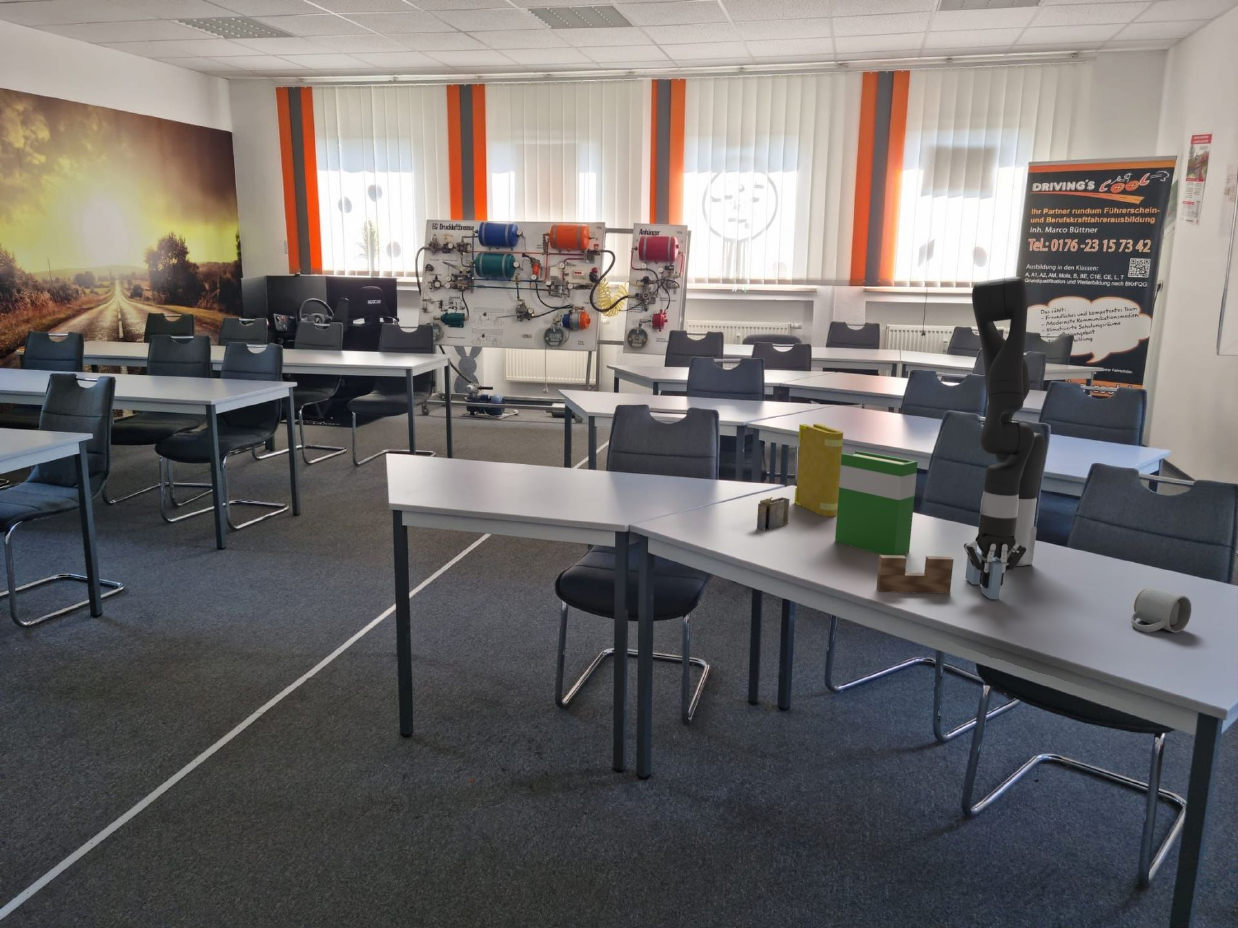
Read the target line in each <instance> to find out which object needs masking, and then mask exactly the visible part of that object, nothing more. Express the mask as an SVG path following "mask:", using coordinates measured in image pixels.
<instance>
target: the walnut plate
mask: <svg viewBox="0 0 1238 928" xmlns="http://www.w3.org/2000/svg"><path fill="white" fill-rule="evenodd" d="M924 561H925V562H924V572H906V569H907V568H906V567H907V557H906V556H905V555H883V554H879V556H878V566H877V577H876V590H877V591H878V592H879V593H910V594H911V593H913V592H915V593H916V594H917V593H919V594H920V593H921V594H951V587H952V586H951V585H952V578H953V568H954V558H953V557H951V556H937V555H935V556H933V555H926V556H925V560H924ZM913 594H914V593H913Z"/></svg>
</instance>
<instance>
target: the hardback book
mask: <svg viewBox="0 0 1238 928" xmlns="http://www.w3.org/2000/svg"><path fill="white" fill-rule="evenodd" d="M917 472H918V460H912V459H906V458H901V457H900V458H899V457H894V456H889V455H884V454H878V453H872V452H867V451H861V450H855V452H854V454H848V453H843V452H842V456H841V469H840V482H839V495H838V508H837V515H836V523H835V524H836V525H835V537H834V542H835V541H836V543H838V544H839V543H840V544H842V543H844V544H843V545H847V546H850V545H852V546H851V547H854V548H857V547H858V549H860V550H861V549H862V550H865V551H870V552H873V553H876V554H879V555H883V554H884V555H900V556H903V555H904V554H907V553H910V549H911V548H910V547H911V538H912V537H911V536H912V529H913V528H912V526H913V517H914V516H913V515H914V503H915V494H916V483H917V476H918V475H917Z"/></svg>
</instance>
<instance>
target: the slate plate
mask: <svg viewBox="0 0 1238 928" xmlns="http://www.w3.org/2000/svg"><path fill="white" fill-rule="evenodd" d="M975 553H976V555H977V557H978V559H979V562H980V563H981V550H980V548H979V547H978V546H977V552H975ZM1002 568H1003V564H1001V563H1000V562H999V561H997V560H996V559H995V558H993V561H992V563H991V565H990V570H989V573H990V576H989V585H988V588H984V587H982V585H981V584H980V582H979V580H980V570H977V569H976V568H975V567H974V566H973V565H972V563H971V561H970V559H969V557H968V556H967V559H966V569H965V577H964V578H965V579H966V580H967V581H968V582H969V583H971V584H972V585H981V592H982V594H983V595H984V596H986V597H987V598H988V599H989V600H1000V595H1001V594H1000V593H1001V587H1002V586H1001V577H1002Z"/></svg>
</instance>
